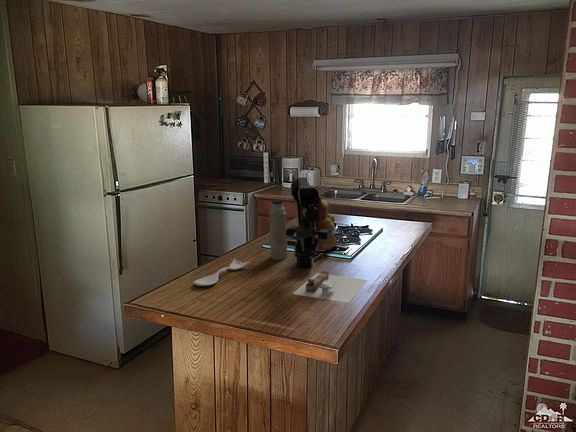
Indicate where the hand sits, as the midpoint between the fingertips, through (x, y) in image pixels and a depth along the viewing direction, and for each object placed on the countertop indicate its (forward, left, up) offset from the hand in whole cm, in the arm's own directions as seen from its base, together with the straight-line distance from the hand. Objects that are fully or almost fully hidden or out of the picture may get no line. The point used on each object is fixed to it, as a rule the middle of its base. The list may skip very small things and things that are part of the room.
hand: (308, 252), depth 205 cm
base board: (+13, -7, -12) cm, 19 cm away
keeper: (+13, -12, -11) cm, 21 cm away
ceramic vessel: (-11, +40, -12) cm, 43 cm away
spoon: (-37, -11, -12) cm, 41 cm away
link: (+6, -6, -11) cm, 14 cm away
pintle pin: (+7, -13, -8) cm, 17 cm away
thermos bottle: (-25, +22, -12) cm, 36 cm away
